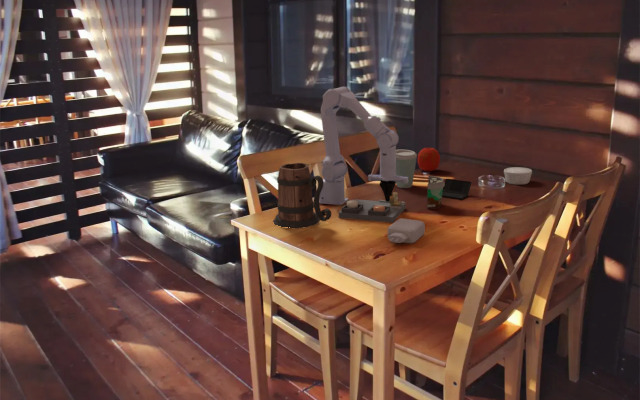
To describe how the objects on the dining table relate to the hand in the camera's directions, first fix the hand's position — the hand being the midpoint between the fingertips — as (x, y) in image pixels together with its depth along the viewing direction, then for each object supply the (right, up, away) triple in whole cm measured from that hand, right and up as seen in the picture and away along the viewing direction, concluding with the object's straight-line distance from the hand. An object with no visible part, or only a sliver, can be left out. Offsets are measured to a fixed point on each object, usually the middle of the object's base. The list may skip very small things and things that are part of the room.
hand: (388, 200), depth 216 cm
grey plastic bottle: (+1, -13, -29) cm, 32 cm away
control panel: (-6, -4, -2) cm, 8 cm away
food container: (+19, -2, +5) cm, 19 cm away
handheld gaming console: (+28, +2, +17) cm, 32 cm away
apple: (+25, +14, +56) cm, 63 cm away
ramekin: (+58, +8, +32) cm, 67 cm away
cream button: (-13, -2, -5) cm, 14 cm away
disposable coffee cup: (+10, +6, +32) cm, 34 cm away
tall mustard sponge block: (+3, -2, -1) cm, 3 cm away
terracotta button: (-4, -4, -8) cm, 10 cm away
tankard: (-31, -8, -9) cm, 33 cm away
